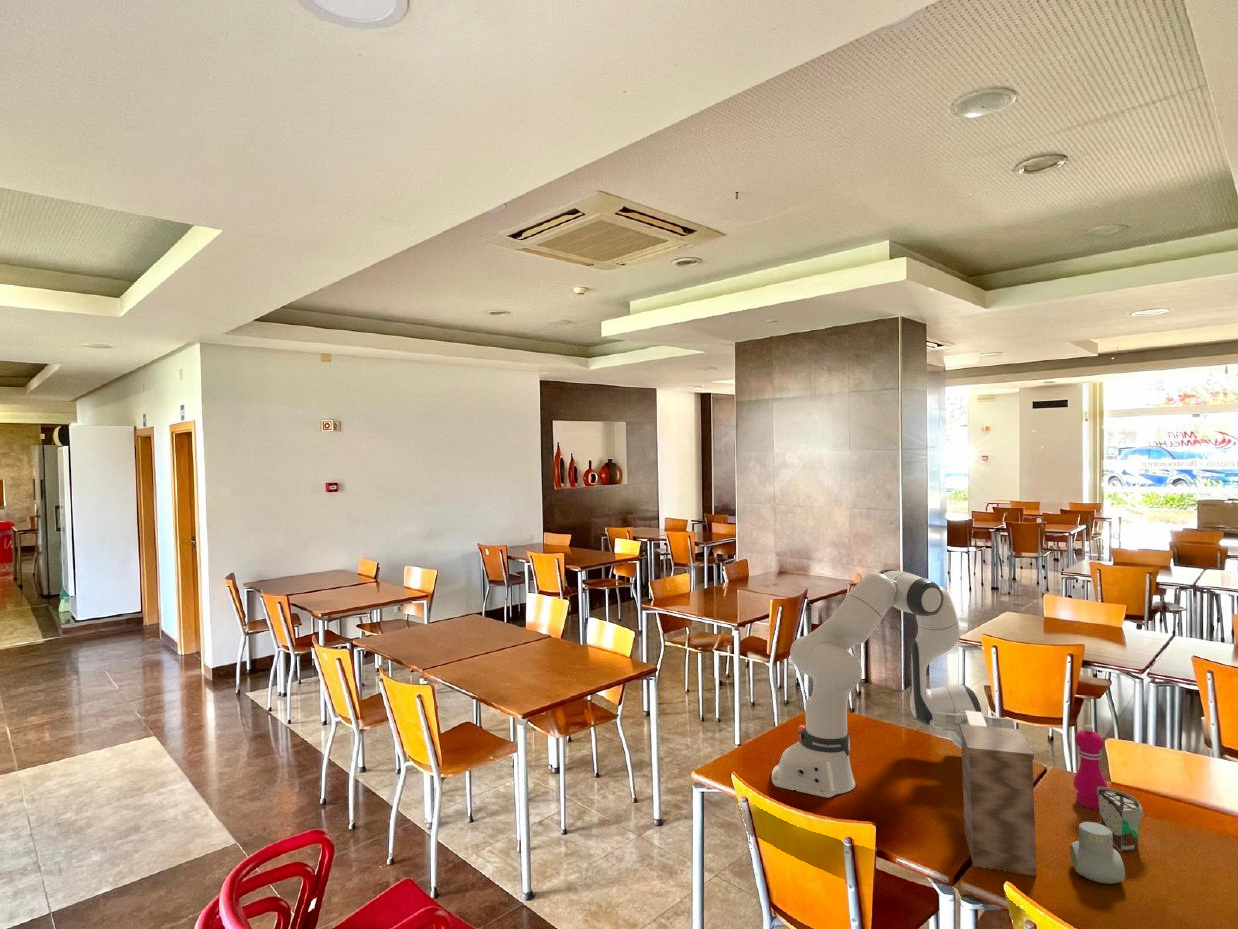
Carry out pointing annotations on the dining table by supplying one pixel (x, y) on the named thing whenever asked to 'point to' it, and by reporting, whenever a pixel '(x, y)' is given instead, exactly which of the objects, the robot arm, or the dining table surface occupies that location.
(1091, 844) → the air freshener
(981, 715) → the cream rectangular block
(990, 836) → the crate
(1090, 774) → the pepper mill
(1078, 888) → the dining table surface
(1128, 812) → the food container
